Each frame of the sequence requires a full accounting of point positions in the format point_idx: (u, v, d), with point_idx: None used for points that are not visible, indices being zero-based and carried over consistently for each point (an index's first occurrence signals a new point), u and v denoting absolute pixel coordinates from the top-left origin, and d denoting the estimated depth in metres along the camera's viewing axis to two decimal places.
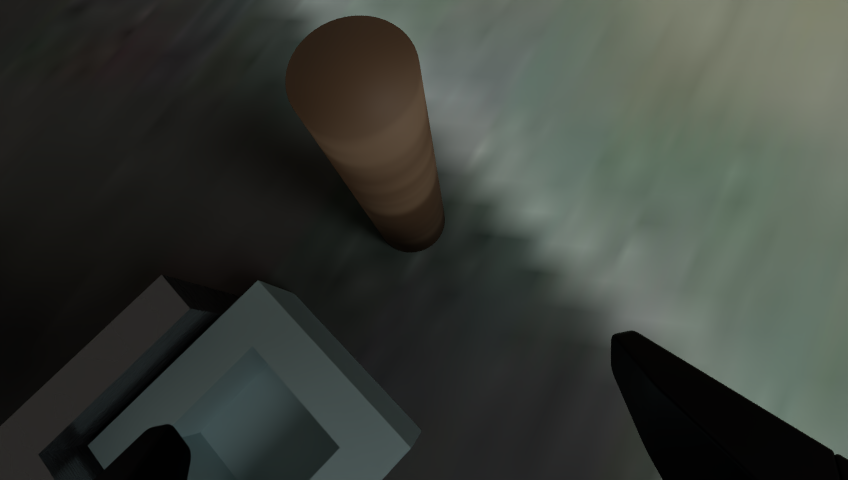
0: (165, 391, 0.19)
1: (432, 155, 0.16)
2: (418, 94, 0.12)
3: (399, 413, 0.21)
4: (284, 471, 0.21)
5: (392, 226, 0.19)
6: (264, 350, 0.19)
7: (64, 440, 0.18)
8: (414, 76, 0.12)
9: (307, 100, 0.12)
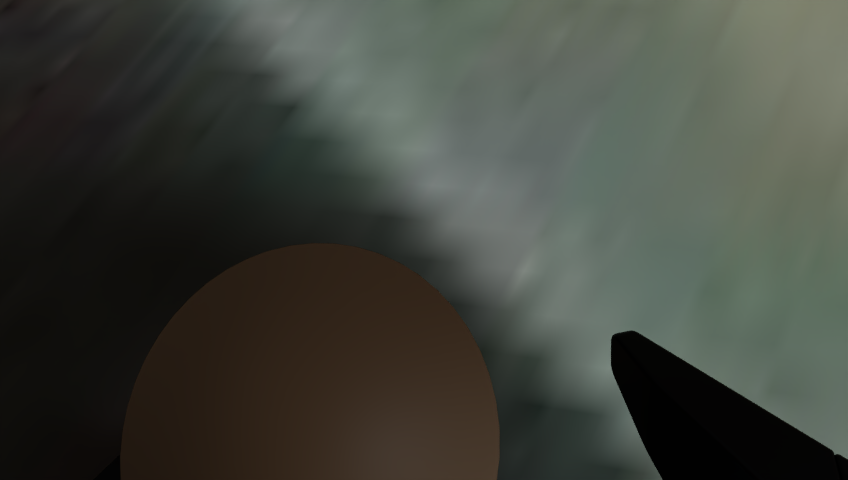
0: None
1: None
2: None
3: None
4: None
5: None
6: None
7: None
8: (486, 459, 0.04)
9: None
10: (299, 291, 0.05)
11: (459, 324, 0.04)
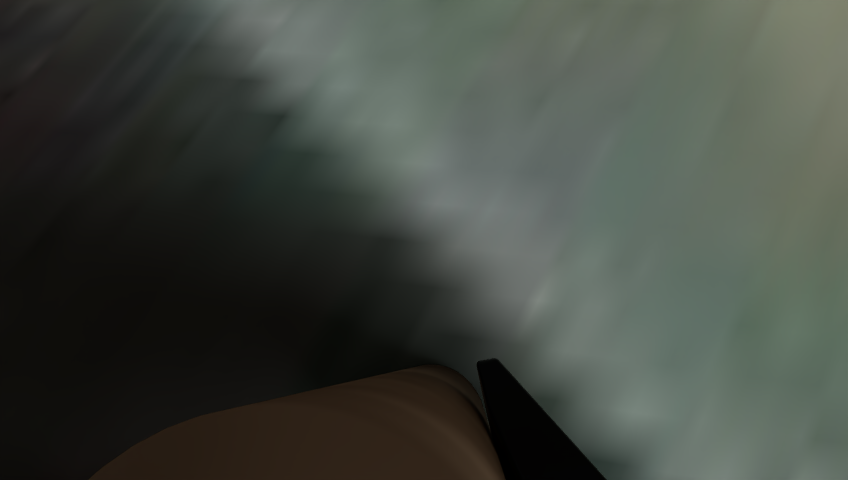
0: None
1: None
2: None
3: None
4: None
5: None
6: None
7: None
8: None
9: None
10: None
11: None
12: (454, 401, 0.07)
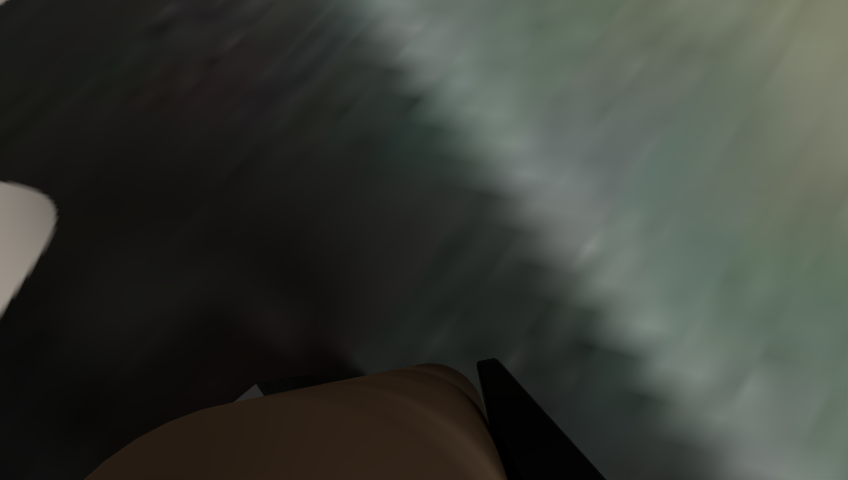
0: None
1: None
2: None
3: None
4: None
5: None
6: None
7: None
8: None
9: None
10: None
11: None
12: (455, 398, 0.07)
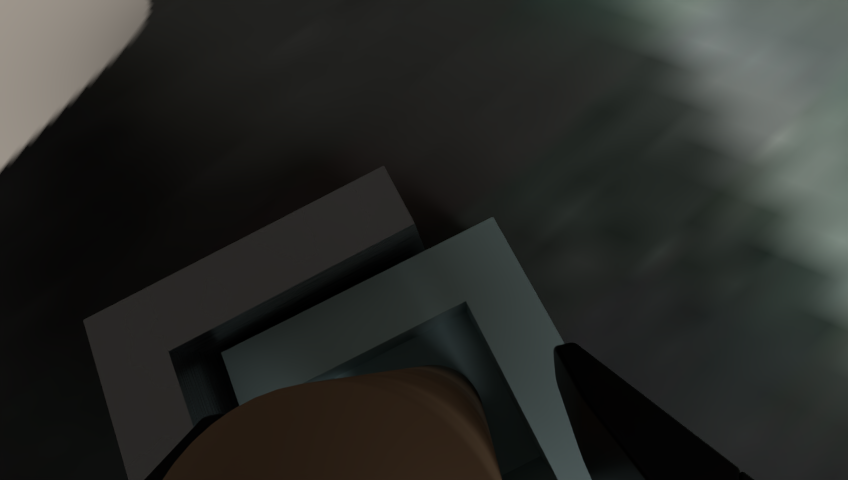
0: (336, 319, 0.14)
1: None
2: None
3: None
4: None
5: None
6: (481, 313, 0.14)
7: (200, 342, 0.13)
8: None
9: None
10: (311, 438, 0.04)
11: None
12: (454, 391, 0.08)
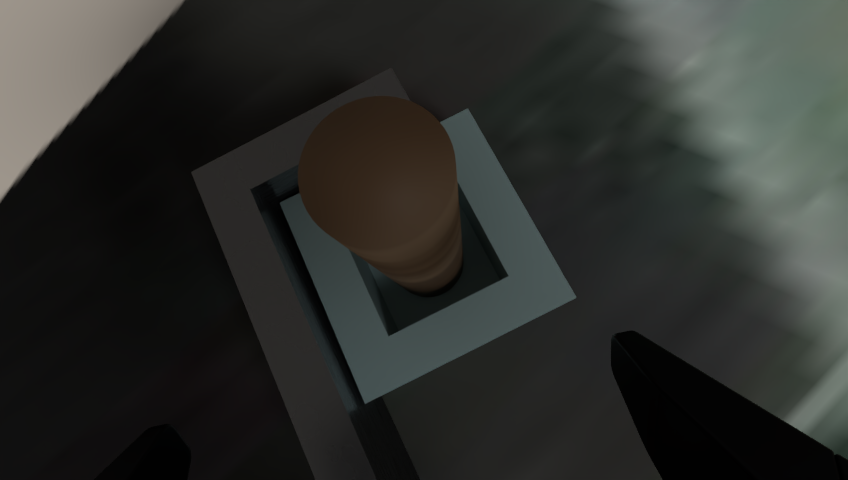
0: None
1: (459, 226, 0.14)
2: (453, 192, 0.10)
3: None
4: None
5: (411, 286, 0.18)
6: (459, 172, 0.20)
7: (269, 187, 0.19)
8: (450, 175, 0.10)
9: (324, 202, 0.10)
10: (371, 115, 0.10)
11: (440, 126, 0.10)
12: None
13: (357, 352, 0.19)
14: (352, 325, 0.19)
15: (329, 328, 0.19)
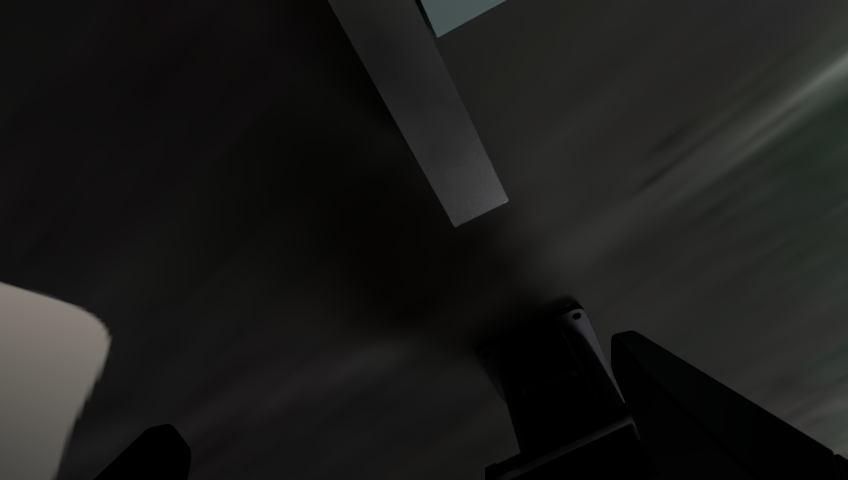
0: None
1: None
2: None
3: None
4: None
5: None
6: None
7: None
8: None
9: None
10: None
11: None
12: None
13: None
14: None
15: None
